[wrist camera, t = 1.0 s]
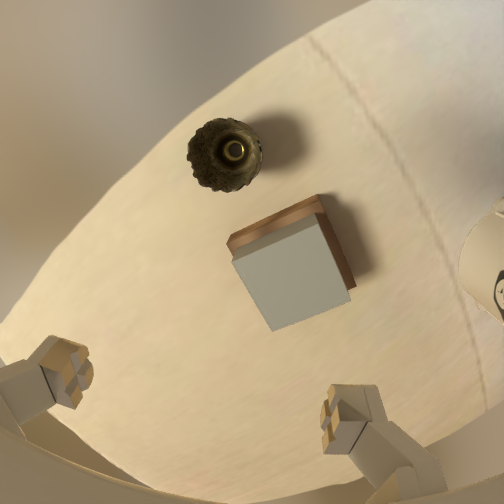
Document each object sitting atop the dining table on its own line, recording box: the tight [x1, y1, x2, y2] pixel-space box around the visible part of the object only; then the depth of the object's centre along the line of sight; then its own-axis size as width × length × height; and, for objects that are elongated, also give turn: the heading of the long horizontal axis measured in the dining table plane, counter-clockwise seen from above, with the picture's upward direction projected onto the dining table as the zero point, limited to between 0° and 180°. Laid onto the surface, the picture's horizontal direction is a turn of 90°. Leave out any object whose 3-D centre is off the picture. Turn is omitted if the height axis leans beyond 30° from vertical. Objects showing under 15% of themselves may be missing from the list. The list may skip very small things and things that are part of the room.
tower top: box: [232, 214, 351, 332], centre depth 36 cm, size 10×10×4 cm
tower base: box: [226, 194, 356, 290], centre depth 40 cm, size 12×12×4 cm
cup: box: [187, 118, 263, 193], centre depth 33 cm, size 7×7×8 cm
